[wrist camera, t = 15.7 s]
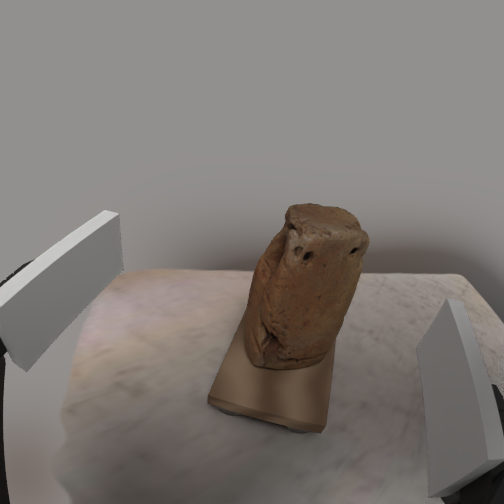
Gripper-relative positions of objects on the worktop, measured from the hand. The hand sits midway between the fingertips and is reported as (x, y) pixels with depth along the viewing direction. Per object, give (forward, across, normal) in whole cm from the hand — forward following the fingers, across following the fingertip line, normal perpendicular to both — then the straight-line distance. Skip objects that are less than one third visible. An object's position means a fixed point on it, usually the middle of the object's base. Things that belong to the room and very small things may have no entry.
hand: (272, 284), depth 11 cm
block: (+20, +2, -25) cm, 32 cm away
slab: (+19, +2, -30) cm, 35 cm away
